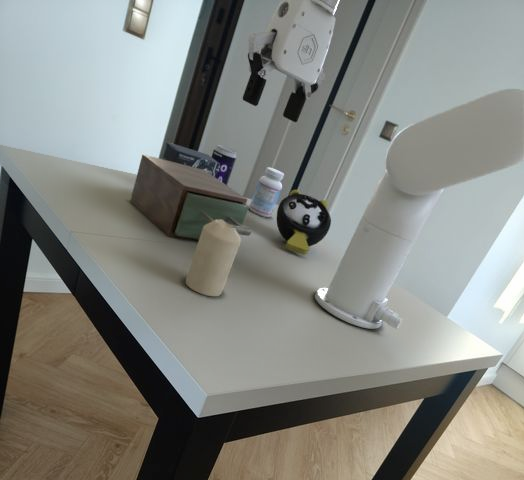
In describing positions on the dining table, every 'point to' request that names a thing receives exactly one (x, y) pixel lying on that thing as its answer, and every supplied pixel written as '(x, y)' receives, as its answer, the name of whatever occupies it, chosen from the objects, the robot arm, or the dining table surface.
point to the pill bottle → (267, 193)
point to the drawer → (209, 214)
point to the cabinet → (173, 190)
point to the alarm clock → (302, 221)
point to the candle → (213, 258)
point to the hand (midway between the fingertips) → (270, 111)
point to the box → (190, 158)
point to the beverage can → (224, 162)
